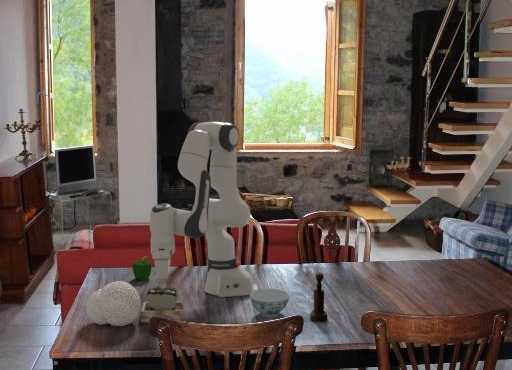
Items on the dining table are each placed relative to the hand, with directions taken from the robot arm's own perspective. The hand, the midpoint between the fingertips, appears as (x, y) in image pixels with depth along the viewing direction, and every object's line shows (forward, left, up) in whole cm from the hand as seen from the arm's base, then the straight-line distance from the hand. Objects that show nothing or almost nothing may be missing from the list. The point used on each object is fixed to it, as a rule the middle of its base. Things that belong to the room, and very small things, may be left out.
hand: (164, 283), depth 258 cm
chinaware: (-40, 0, -13) cm, 42 cm away
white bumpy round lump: (+18, +7, -13) cm, 24 cm away
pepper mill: (-58, +6, -13) cm, 59 cm away
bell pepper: (+13, -48, -13) cm, 52 cm away
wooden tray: (+1, +1, -13) cm, 13 cm away
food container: (0, +1, -12) cm, 12 cm away
